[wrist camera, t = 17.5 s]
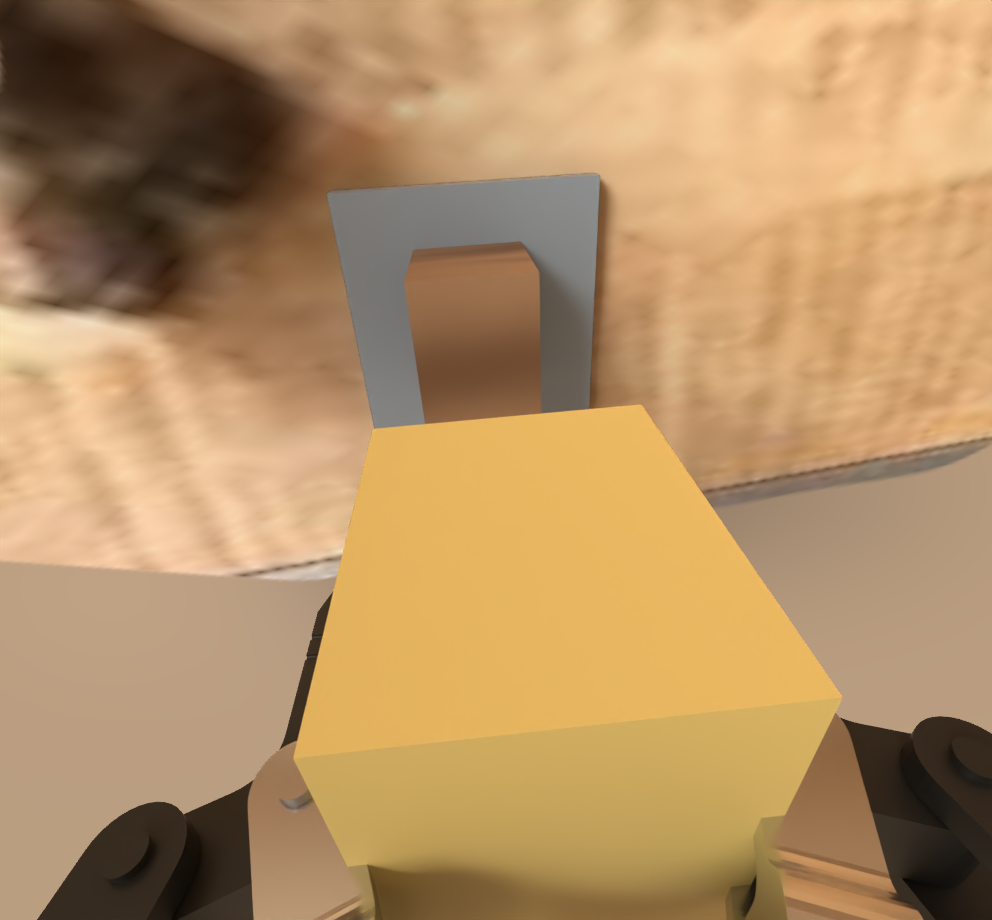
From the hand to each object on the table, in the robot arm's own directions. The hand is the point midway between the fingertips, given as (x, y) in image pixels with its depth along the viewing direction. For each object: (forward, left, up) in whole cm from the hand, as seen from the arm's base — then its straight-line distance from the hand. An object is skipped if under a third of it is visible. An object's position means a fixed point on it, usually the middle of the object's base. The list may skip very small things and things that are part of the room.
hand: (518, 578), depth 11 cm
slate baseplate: (0, 0, -19) cm, 19 cm away
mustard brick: (0, 0, -1) cm, 1 cm away
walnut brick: (0, 0, -18) cm, 18 cm away
